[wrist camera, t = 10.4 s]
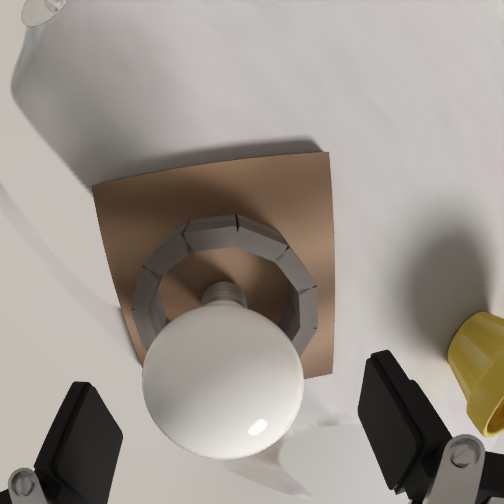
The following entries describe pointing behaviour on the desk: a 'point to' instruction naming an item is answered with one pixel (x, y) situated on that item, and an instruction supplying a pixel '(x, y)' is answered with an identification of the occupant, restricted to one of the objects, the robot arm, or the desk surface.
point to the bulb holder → (226, 245)
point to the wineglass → (40, 11)
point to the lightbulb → (222, 378)
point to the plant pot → (481, 370)
